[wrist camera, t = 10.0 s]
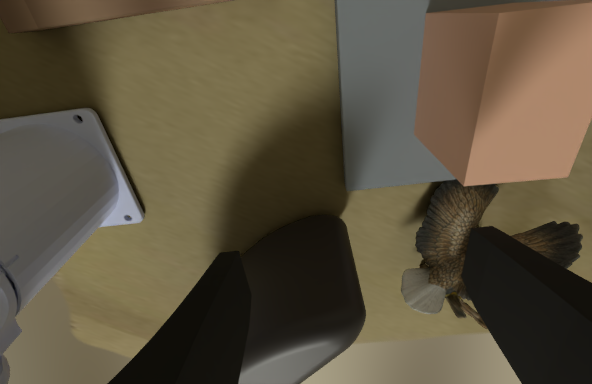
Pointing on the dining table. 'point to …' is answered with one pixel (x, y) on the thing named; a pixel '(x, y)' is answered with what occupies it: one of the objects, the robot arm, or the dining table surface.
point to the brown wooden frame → (80, 11)
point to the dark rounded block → (300, 301)
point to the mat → (386, 89)
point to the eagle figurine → (453, 245)
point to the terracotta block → (506, 89)
